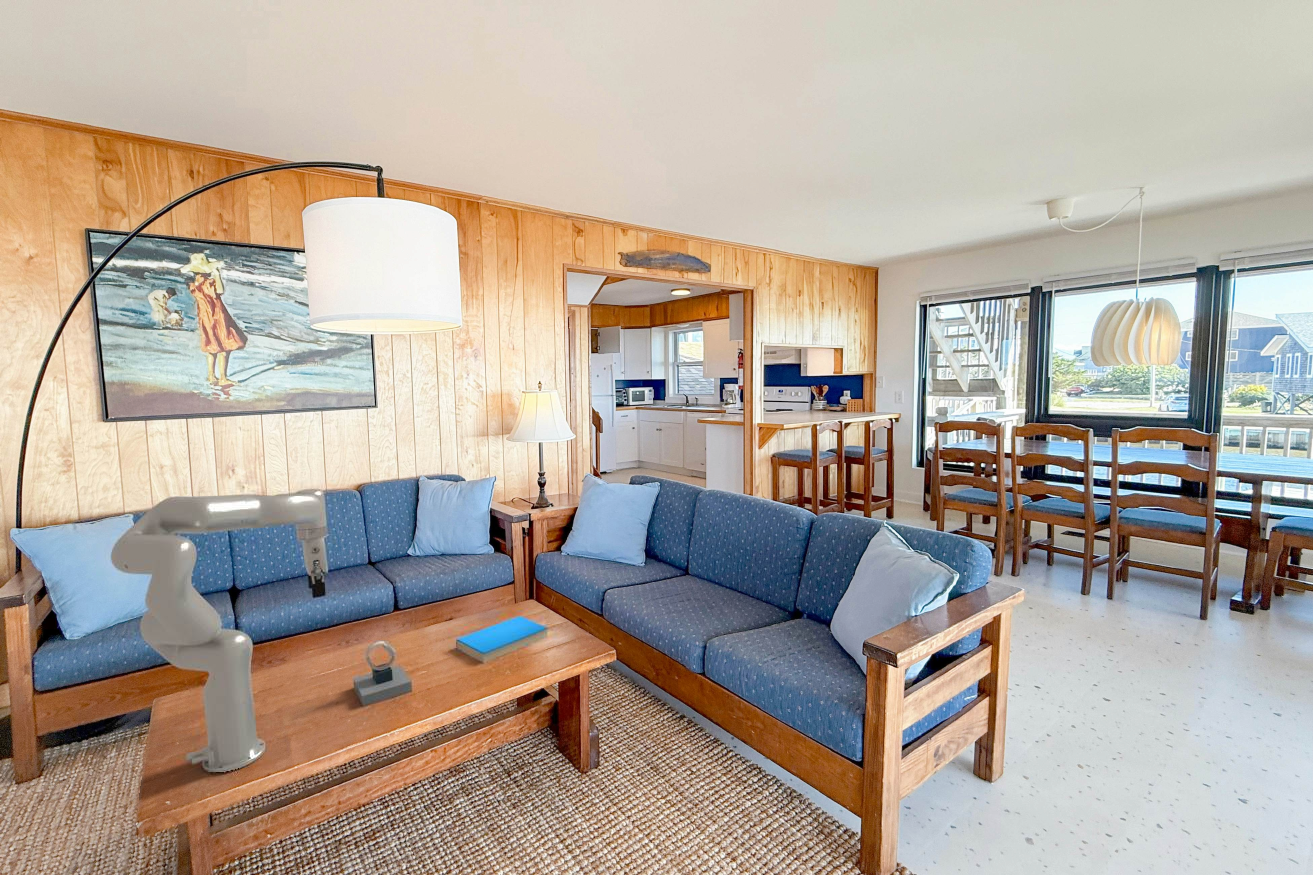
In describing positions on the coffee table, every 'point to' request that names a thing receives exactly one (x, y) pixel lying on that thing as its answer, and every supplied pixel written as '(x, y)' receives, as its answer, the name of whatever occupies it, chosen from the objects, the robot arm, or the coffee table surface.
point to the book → (501, 638)
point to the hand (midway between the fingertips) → (317, 591)
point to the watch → (382, 671)
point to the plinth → (382, 687)
